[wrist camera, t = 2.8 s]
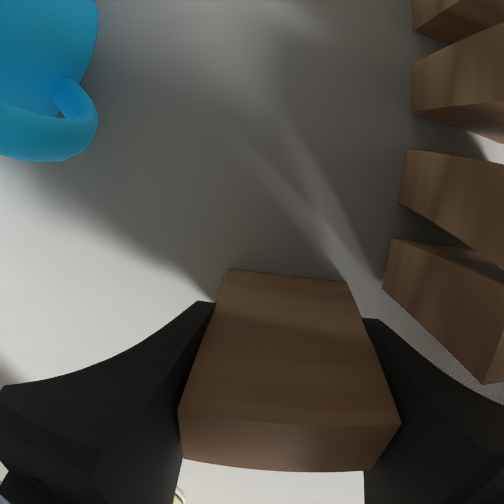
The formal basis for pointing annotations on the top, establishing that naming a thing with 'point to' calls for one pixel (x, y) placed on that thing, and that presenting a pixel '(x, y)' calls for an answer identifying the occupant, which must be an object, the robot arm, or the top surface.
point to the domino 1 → (286, 380)
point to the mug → (46, 78)
